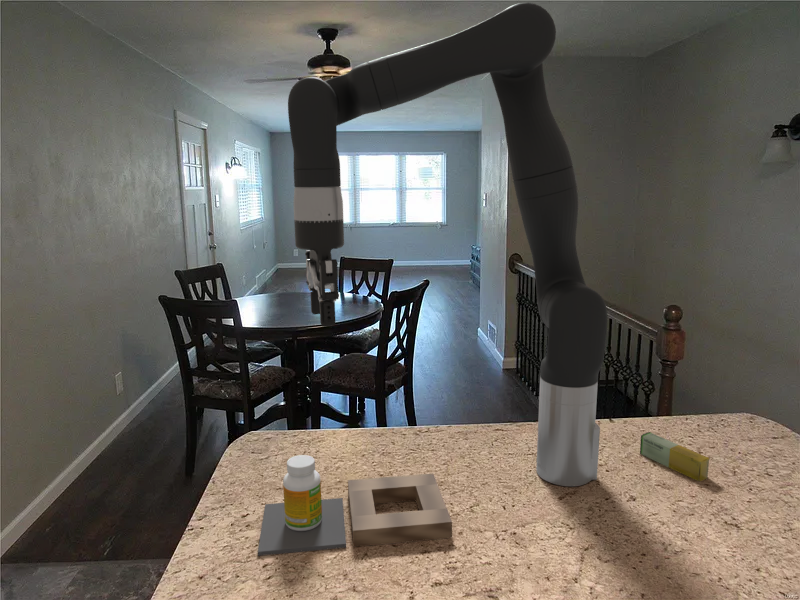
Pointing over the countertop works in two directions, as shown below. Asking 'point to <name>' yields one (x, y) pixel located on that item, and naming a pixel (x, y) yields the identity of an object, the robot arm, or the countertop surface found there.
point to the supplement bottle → (302, 494)
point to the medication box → (674, 456)
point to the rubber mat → (288, 541)
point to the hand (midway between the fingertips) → (322, 319)
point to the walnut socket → (401, 525)
